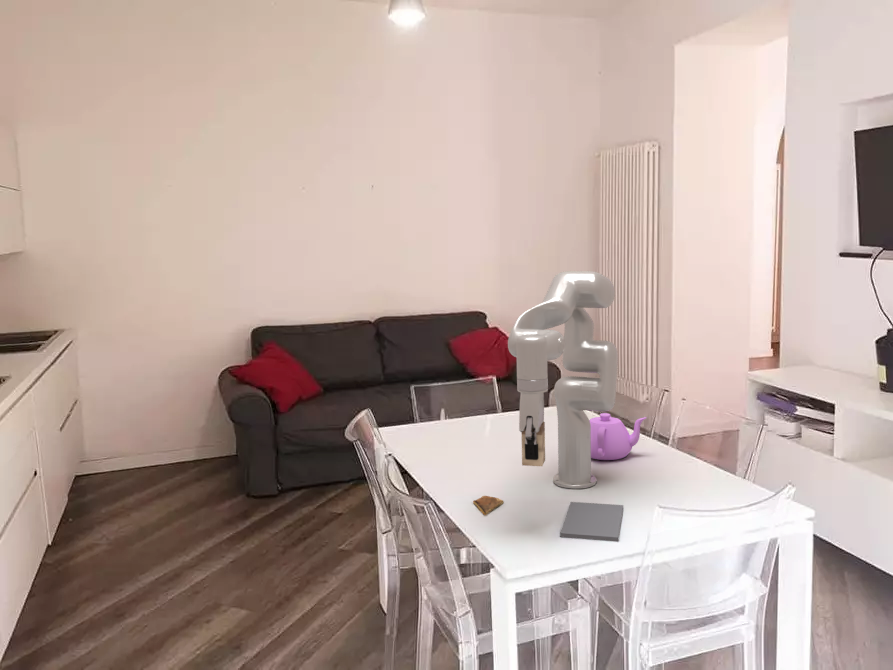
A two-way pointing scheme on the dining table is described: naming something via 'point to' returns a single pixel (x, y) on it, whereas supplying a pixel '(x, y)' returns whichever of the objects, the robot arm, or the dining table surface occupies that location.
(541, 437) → the maple block
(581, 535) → the mat
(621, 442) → the teapot
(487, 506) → the shard
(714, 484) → the dining table surface
